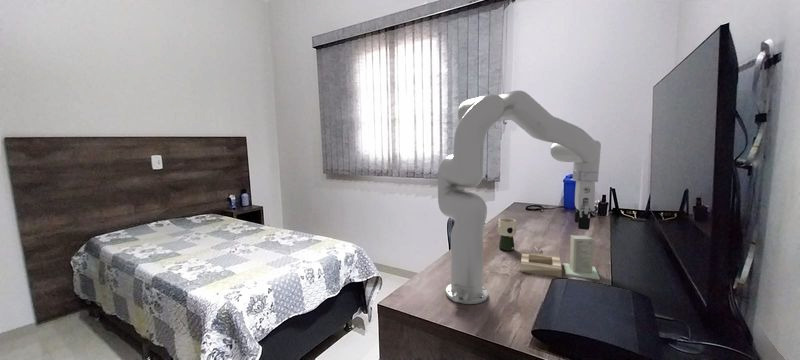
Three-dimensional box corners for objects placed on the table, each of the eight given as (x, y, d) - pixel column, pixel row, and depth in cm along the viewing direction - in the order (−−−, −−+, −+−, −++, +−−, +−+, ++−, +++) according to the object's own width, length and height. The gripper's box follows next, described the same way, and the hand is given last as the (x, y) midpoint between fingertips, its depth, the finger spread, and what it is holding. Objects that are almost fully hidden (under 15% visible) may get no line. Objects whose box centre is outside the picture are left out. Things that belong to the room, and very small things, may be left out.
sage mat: (599, 279, 103) (599, 277, 103) (565, 275, 107) (565, 273, 107) (594, 268, 112) (594, 266, 112) (563, 264, 116) (563, 262, 116)
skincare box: (587, 268, 111) (589, 235, 110) (592, 273, 107) (594, 239, 105) (568, 267, 112) (570, 234, 111) (572, 272, 108) (574, 238, 107)
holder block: (561, 277, 106) (561, 268, 105) (520, 271, 111) (520, 263, 110) (558, 263, 117) (559, 255, 117) (521, 258, 123) (522, 251, 122)
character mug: (504, 254, 128) (505, 223, 126) (491, 249, 134) (491, 220, 132) (521, 249, 134) (522, 219, 132) (508, 244, 140) (508, 216, 138)
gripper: (603, 179, 96) (598, 233, 98) (593, 175, 112) (589, 221, 114) (575, 178, 99) (571, 230, 101) (570, 174, 115) (566, 219, 117)
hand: (581, 225), depth 108 cm, fingers open, 9 cm apart
